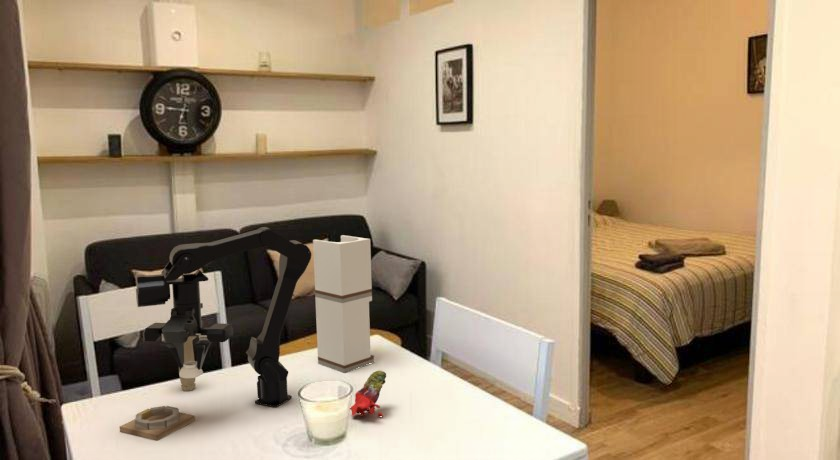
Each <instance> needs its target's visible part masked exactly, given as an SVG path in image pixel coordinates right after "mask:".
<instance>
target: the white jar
mask: <svg viewBox="0 0 840 460" xmlns="http://www.w3.org/2000/svg"><path fill="white" fill-rule="evenodd" d="M203 374H204V371H203V369H202V368H201V369H200V370H199V369H198V367H197V360H195V361H189V362H185V363H184V364H183V367H182V368H181V371H180V373H179V372H178V375H179V378H180V377H182V378H195V377H196V378H198V377H200V376H202V375H203ZM196 378H195V379H196Z"/></svg>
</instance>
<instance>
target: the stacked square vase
mask: <svg viewBox="0 0 840 460" xmlns="http://www.w3.org/2000/svg"><path fill="white" fill-rule="evenodd" d="M312 247H313V248H312V249H313V251H312V253H313V271H314V273H313V274H314V296H315V319H316V343H317V364H318V365H321V366H324V367H326V368H328V369H332V370H335V371H338V372H341V373H344V374H346V373H348V371H349V372H352V371H354V370H353V369H355V370H357V369H356V368H358V367H361V366H363V367H365V366H364V365H366V364H369V363H372V362H374V363H375V359H374V358H375V355H372V354H371V331H370V330H371V329H370V328H371V325H370V302H372V301H373V292H372V291H373V286H372V284H373V283H372V259H371V258H372V256H371V255H372V254H371V253H372V252H371V251H372V250H371V238H364V237H358V236H351V235H344V234H342V235H340V241H339V242H338V241H337V242H336V241H327V240H321V239H312ZM372 364H373V363H372ZM369 365H370V364H369ZM366 366H367V365H366ZM361 368H362V367H361ZM358 369H359V368H358ZM351 370H352V371H351Z"/></svg>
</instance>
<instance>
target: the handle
mask: <svg viewBox="0 0 840 460" xmlns="http://www.w3.org/2000/svg"><path fill="white" fill-rule="evenodd" d="M197 337H198V336H189V337H188V339H187V341H186V342H185V343H184V363H185V362H189V361H196V360H195V353H194V345H193V340H194V339H196V338H197ZM180 371H181V369H180V368H179V367H178V374H179V373H180ZM196 378H197V377H195V378H182V377H180V376H179V381H180V384H181V385H180V386H181V388H180V389H181V390H183V391H184V392H187V391H192V390H194V389H196V383H195V382H196Z"/></svg>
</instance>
